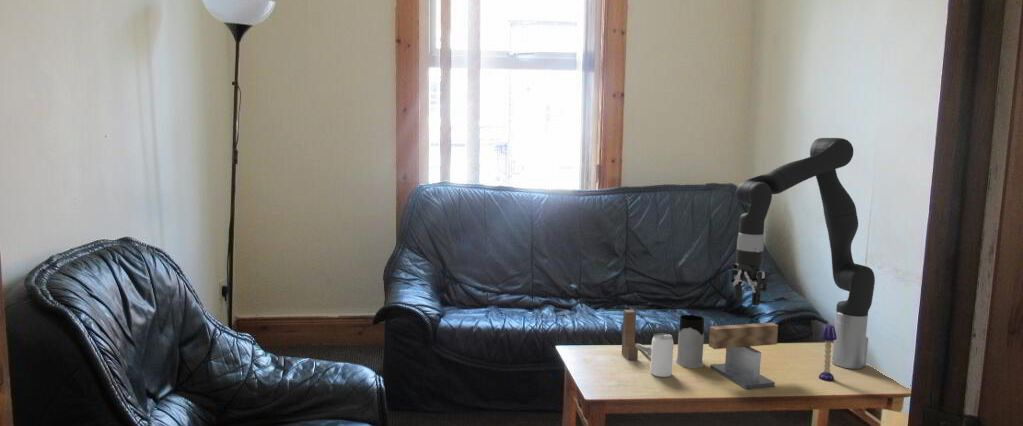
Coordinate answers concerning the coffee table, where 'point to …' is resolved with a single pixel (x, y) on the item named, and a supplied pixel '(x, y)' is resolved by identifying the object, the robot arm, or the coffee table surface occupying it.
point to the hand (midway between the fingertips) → (746, 301)
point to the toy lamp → (827, 350)
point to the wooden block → (629, 335)
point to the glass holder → (690, 341)
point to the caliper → (644, 348)
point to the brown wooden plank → (743, 335)
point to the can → (662, 355)
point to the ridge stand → (743, 368)
